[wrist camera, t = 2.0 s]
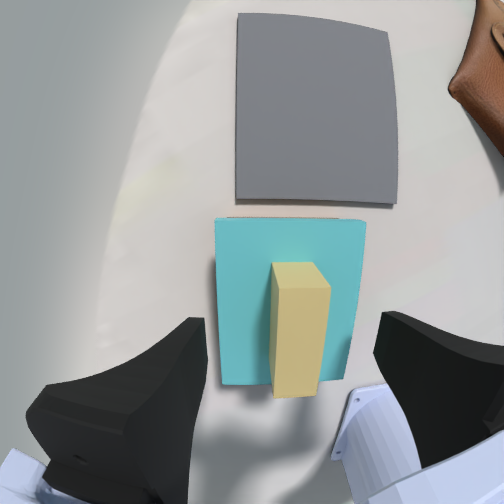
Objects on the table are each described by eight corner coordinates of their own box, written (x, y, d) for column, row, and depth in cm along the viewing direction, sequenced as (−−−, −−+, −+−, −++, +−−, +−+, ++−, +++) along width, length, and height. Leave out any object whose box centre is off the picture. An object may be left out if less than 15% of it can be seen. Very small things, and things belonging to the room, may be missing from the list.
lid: (339, 370, 15) (359, 415, 11) (223, 375, 15) (218, 424, 11) (359, 219, 13) (398, 236, 9) (216, 218, 13) (204, 234, 9)
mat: (394, 203, 15) (396, 203, 15) (236, 198, 15) (236, 198, 15) (385, 34, 12) (387, 32, 12) (238, 15, 12) (238, 13, 12)
